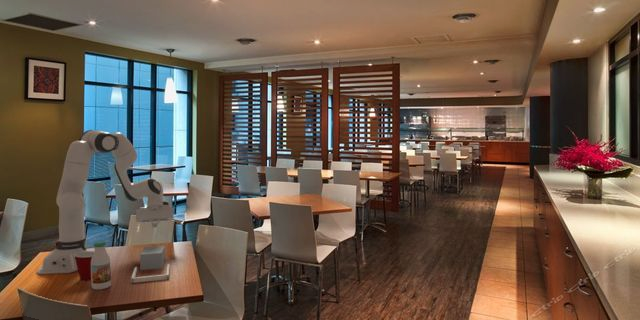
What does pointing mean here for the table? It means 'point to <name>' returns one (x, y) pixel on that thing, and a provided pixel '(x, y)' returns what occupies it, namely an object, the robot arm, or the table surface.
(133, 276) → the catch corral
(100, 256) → the milk bottle
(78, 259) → the plastic cup
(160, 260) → the slate block
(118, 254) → the table surface
